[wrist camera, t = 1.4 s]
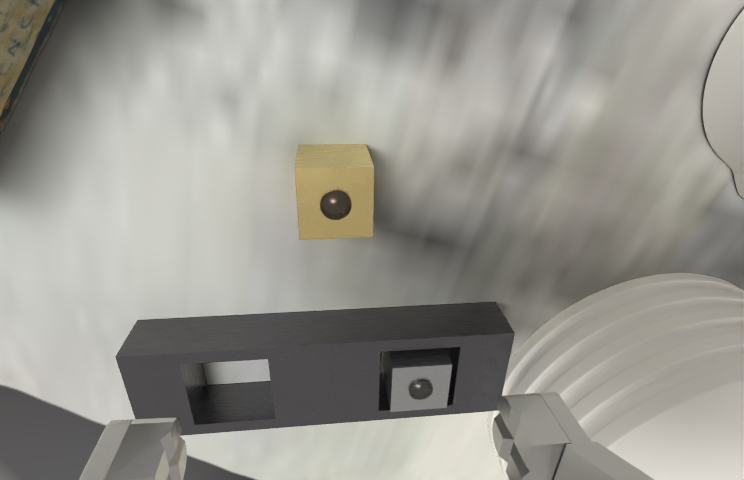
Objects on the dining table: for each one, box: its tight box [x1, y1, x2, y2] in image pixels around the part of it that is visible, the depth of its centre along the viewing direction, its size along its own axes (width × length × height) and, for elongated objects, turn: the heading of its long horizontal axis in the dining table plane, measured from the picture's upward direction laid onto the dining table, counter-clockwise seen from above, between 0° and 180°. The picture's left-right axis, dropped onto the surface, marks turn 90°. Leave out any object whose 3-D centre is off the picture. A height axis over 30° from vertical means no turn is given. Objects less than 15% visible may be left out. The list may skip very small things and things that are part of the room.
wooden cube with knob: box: [295, 144, 374, 240], centre depth 27 cm, size 4×4×5 cm
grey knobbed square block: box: [382, 348, 452, 412], centre depth 35 cm, size 4×4×5 cm
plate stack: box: [487, 273, 744, 480], centre depth 38 cm, size 28×28×12 cm
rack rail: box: [116, 302, 515, 435], centre depth 34 cm, size 28×8×4 cm, turn 89°
